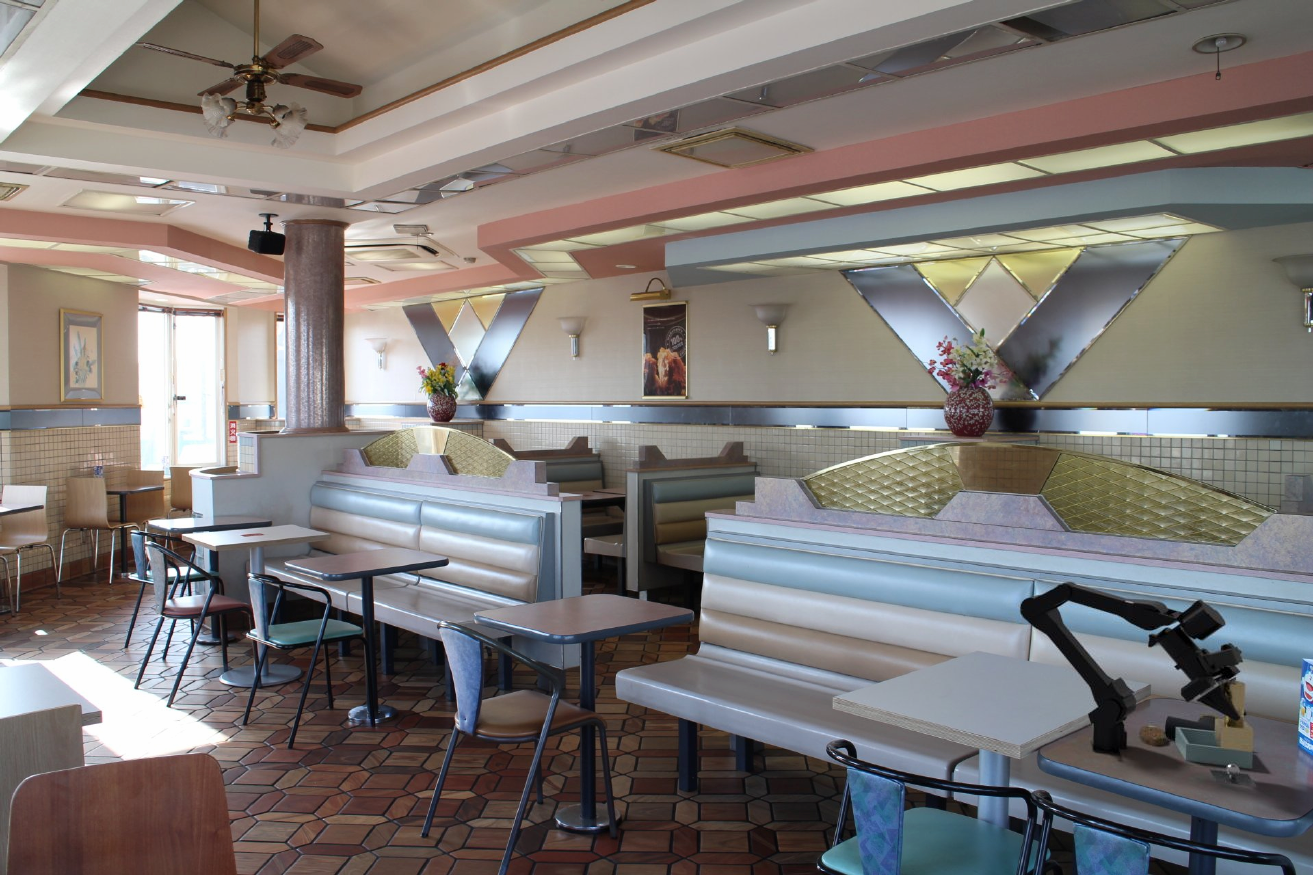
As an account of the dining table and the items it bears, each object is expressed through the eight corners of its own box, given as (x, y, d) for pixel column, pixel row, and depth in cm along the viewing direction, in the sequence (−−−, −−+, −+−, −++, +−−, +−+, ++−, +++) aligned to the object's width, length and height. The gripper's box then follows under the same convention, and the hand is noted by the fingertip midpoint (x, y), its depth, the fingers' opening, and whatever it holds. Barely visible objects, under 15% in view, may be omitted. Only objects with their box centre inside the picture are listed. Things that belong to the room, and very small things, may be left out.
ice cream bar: (1135, 726, 227) (1135, 744, 214) (1146, 712, 226) (1147, 729, 213) (1157, 741, 225) (1158, 760, 212) (1168, 726, 224) (1170, 744, 211)
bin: (1185, 764, 203) (1186, 743, 203) (1175, 746, 215) (1175, 726, 215) (1252, 773, 199) (1252, 751, 199) (1237, 754, 211) (1238, 733, 211)
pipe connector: (1177, 706, 229) (1249, 720, 219) (1176, 728, 229) (1248, 743, 219) (1165, 718, 220) (1239, 733, 211) (1164, 740, 221) (1239, 756, 211)
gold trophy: (1220, 748, 193) (1223, 684, 192) (1214, 739, 198) (1216, 677, 198) (1252, 751, 191) (1255, 687, 190) (1245, 742, 196) (1247, 680, 196)
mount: (1216, 786, 191) (1217, 767, 191) (1209, 774, 198) (1209, 756, 198) (1256, 791, 189) (1257, 772, 189) (1247, 779, 196) (1248, 760, 196)
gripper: (1200, 637, 190) (1260, 705, 183) (1231, 625, 203) (1289, 688, 195) (1156, 668, 196) (1213, 735, 189) (1189, 654, 209) (1244, 716, 201)
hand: (1241, 717), depth 193 cm, fingers closed on gold trophy, 3 cm apart
